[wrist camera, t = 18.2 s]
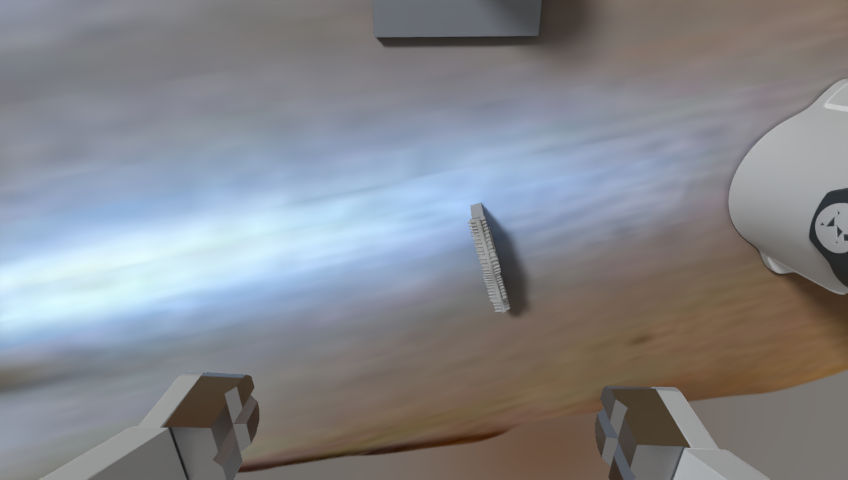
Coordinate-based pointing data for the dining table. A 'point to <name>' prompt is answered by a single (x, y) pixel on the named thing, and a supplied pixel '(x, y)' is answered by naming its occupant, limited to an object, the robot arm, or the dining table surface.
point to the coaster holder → (456, 18)
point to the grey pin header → (488, 258)
